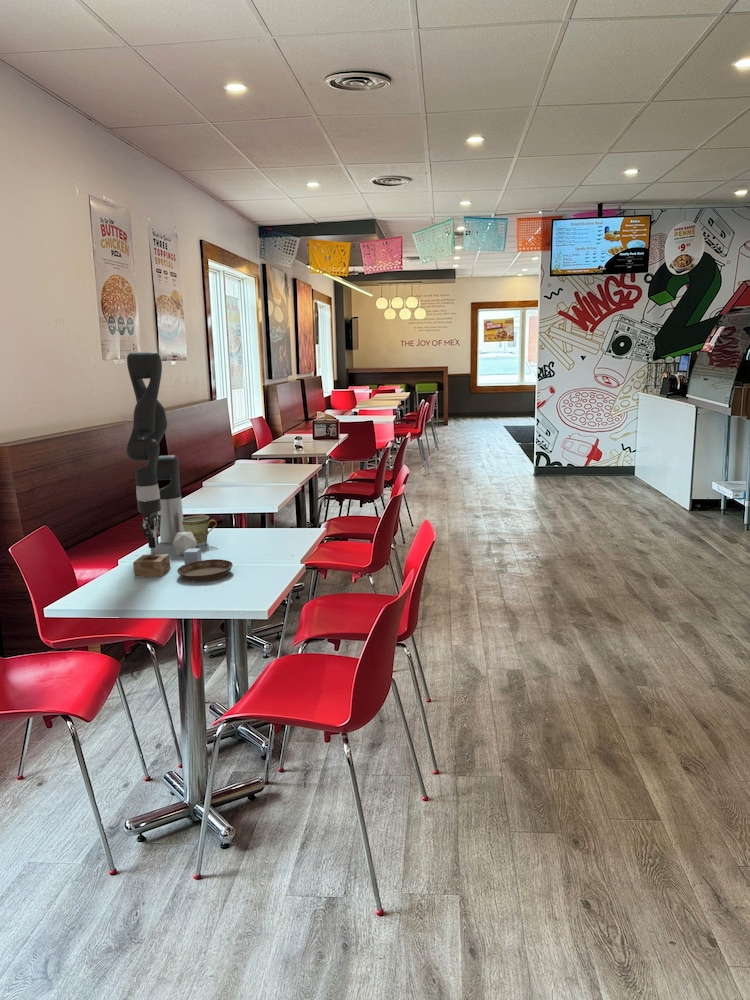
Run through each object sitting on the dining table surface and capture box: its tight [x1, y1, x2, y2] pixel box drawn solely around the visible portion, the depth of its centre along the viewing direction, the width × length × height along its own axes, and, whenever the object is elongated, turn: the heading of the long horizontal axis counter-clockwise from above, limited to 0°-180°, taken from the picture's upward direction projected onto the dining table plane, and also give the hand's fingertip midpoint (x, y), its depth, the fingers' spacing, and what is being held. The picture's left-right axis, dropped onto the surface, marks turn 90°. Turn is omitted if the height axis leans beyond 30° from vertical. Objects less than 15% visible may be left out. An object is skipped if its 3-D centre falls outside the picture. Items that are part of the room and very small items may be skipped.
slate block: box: [183, 547, 203, 565], centre depth 256 cm, size 4×4×5 cm
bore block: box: [132, 553, 172, 578], centre depth 248 cm, size 9×9×5 cm
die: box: [172, 532, 197, 556], centre depth 270 cm, size 8×9×10 cm
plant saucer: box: [176, 558, 233, 583], centre depth 243 cm, size 18×18×3 cm
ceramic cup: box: [182, 515, 218, 547], centre depth 282 cm, size 13×10×10 cm
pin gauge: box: [150, 530, 159, 555], centre depth 258 cm, size 2×2×12 cm
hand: (153, 546), depth 258 cm, fingers closed on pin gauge, 2 cm apart
